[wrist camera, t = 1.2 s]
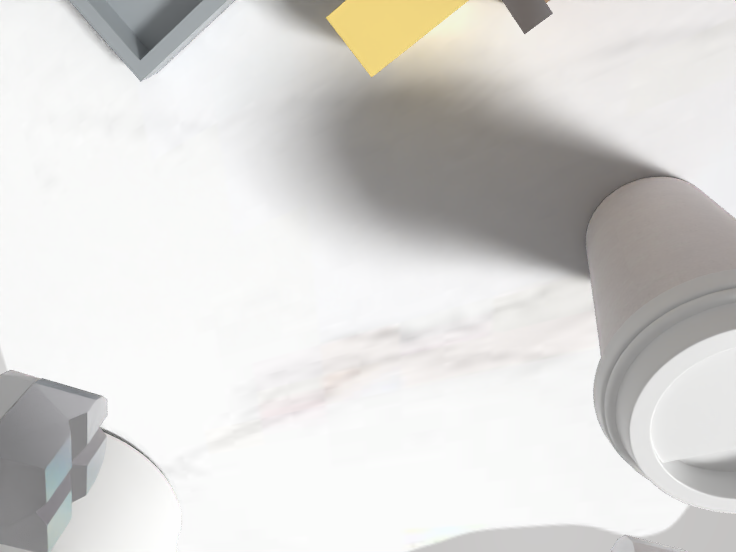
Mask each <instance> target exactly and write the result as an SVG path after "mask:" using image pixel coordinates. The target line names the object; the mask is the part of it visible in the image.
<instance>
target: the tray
mask: <svg viewBox="0 0 736 552" xmlns="http://www.w3.org/2000/svg"><path fill="white" fill-rule="evenodd" d="M69 1H70V2H71V3H72V4H73V5H74V6H75V8H76V9H77V10H78V11H79V12H80V13H81V14H82V16H83V17H84V18H85V19H86V20H87V21H88V22H89V23H90V25H91V26H92V27H93V28H94V29H95V30H96V31H97V33H98V34H99V35H100V36H101V37H102V38H103V39H104V40H105V42H106V43H107V44H108V45H109V46H110V47H111V48H112V50H113V51H114V52H115V53H116V54H117V55H118V56H119V57H120V59H121V60H122V61H123V62H124V63H125V64H126V65H127V67H128V68H129V69H130V70H131V71H132V72H133V73H134V74H135V76H136V77H137V78H138V79H139V80H140V81H143V80H145V79H147V78H149V77H151V76H152V75H154V74H156V73H158V72H159V71H160V70H161V69H162V68H163V67H164V66H165V65H166V64H167V63H168V62H170V61H171V60H172V59H173V58H174V57H175V56H176V55H177V54H178V53H179V52H180V51H181V50H182V49H183V48H185V47H186V46H187V45H188V44H189V43H190V42H191V41H192V40H193V39H194V38H195V37H196V36H197V35H198V34H200V33H201V32H202V31H203V30H204V29H205V28H206V27H207V26H208V25H209V24H210V23H211V22H212V21H214V20H215V19H216V18H217V17H218V16H219V15H220V14H221V13H222V12H223V11H224V10H225V9H226V8H227V7H229V6H230V5H231V4H232V3H233V2H234V1H235V0H69Z"/></svg>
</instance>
